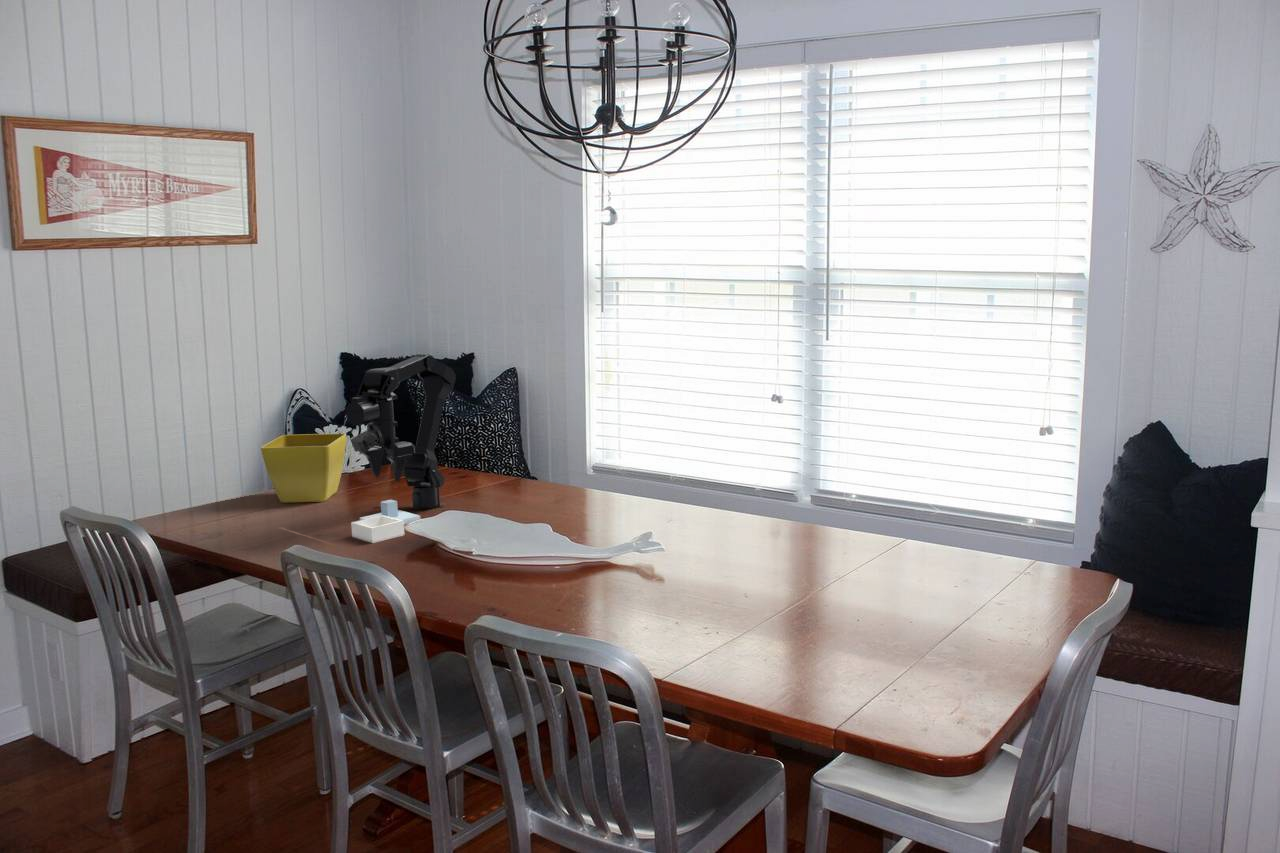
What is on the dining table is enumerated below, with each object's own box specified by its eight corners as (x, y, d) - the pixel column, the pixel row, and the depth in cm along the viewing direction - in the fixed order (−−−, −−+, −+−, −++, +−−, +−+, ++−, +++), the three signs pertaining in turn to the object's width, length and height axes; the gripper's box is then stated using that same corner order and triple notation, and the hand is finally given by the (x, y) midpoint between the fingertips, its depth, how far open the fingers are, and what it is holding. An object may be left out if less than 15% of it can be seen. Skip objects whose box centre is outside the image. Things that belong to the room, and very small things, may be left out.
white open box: (384, 530, 273) (382, 515, 272) (404, 536, 267) (403, 520, 266) (352, 538, 266) (351, 522, 266) (372, 544, 260) (371, 528, 260)
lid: (396, 513, 288) (394, 494, 287) (420, 520, 281) (419, 500, 280) (359, 522, 280) (358, 502, 279) (383, 529, 273) (382, 508, 272)
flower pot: (332, 504, 302) (328, 445, 300) (264, 506, 303) (259, 447, 300) (351, 489, 321) (347, 433, 318) (287, 490, 322) (282, 434, 319)
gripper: (334, 420, 277) (339, 480, 279) (375, 427, 264) (380, 490, 267) (372, 413, 284) (377, 472, 287) (413, 420, 272) (418, 481, 274)
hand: (387, 479), depth 279 cm, fingers open, 9 cm apart
